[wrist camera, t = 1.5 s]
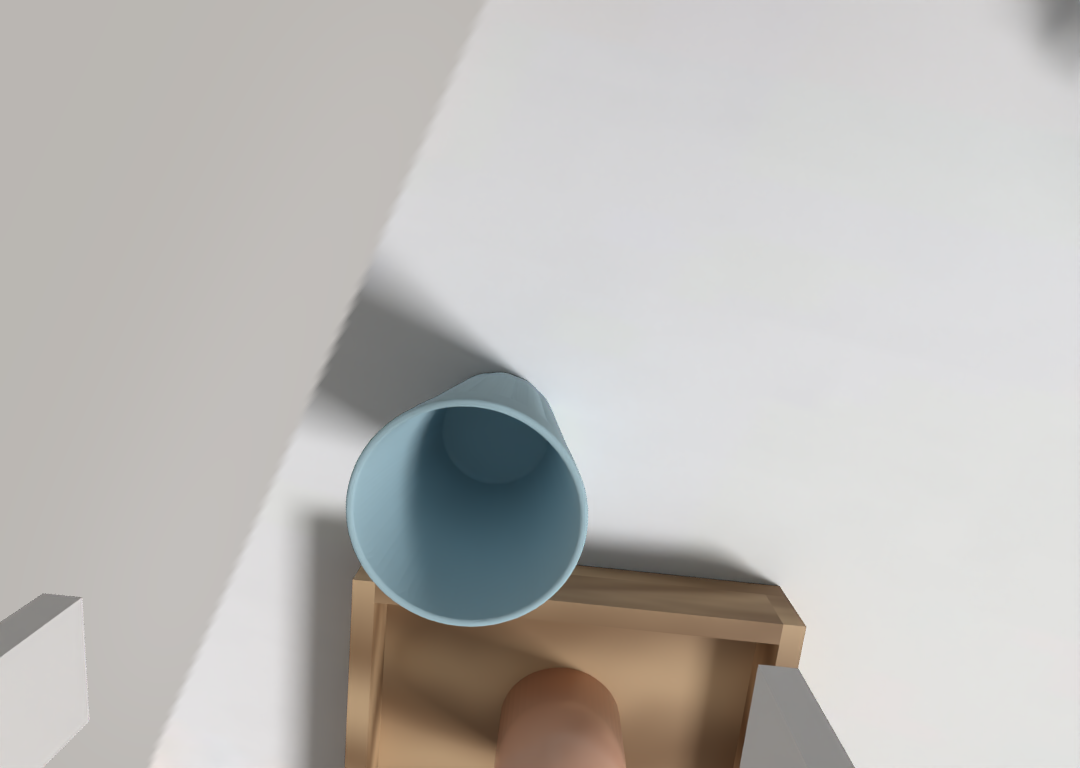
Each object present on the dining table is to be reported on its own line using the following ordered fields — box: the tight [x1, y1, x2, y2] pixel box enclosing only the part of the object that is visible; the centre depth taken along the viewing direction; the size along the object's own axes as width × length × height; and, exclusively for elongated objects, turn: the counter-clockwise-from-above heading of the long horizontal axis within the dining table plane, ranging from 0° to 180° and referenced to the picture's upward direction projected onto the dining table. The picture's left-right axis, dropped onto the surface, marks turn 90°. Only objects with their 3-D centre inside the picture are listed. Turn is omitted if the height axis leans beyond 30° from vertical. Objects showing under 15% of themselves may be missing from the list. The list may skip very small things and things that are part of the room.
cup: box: [346, 373, 588, 627], centre depth 26 cm, size 8×8×10 cm
